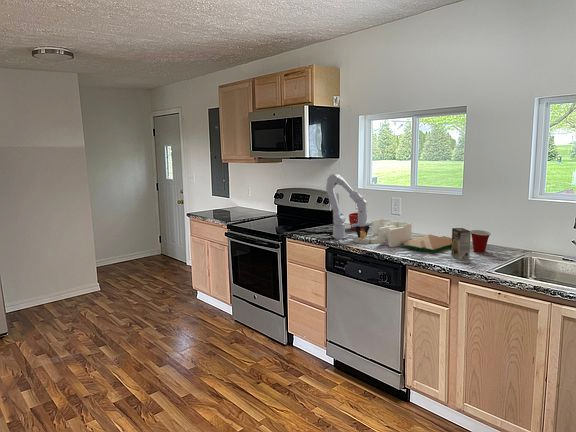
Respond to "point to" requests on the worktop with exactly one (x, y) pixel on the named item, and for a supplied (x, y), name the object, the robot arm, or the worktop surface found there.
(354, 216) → the plant pot
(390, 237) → the cable organizer
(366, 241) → the clip
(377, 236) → the frame
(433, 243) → the house
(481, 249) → the plastic cup
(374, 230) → the white slotted rack
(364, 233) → the orange block
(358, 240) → the clip
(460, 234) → the coffee box
